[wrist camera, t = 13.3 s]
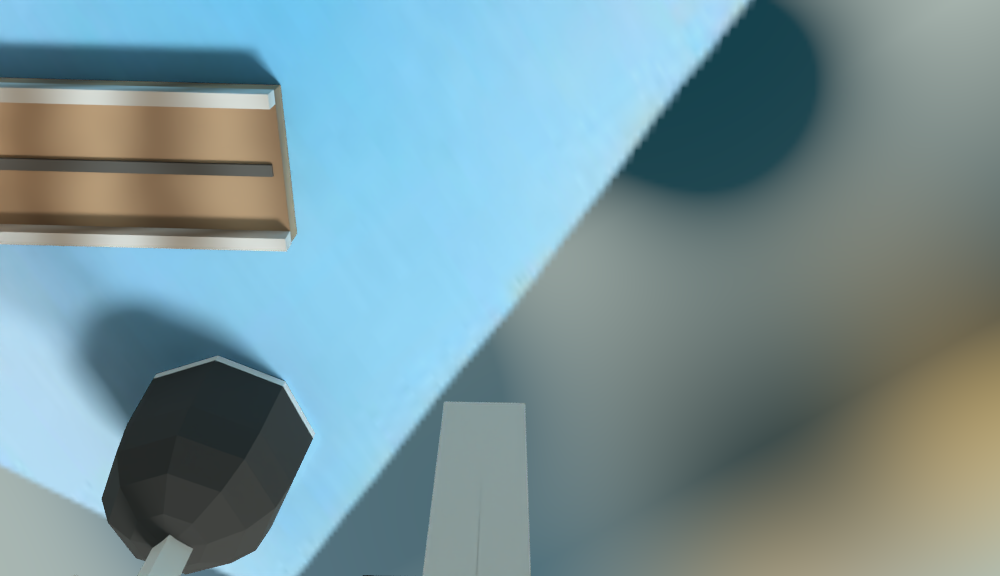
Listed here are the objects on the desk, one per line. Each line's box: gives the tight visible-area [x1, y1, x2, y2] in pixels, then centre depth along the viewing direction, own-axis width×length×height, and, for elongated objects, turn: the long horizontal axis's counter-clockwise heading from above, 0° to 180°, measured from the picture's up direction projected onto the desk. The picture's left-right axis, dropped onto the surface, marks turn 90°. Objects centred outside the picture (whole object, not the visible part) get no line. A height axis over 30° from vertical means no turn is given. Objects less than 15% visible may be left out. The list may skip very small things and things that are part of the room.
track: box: [0, 78, 297, 251], centre depth 36 cm, size 24×9×7 cm, turn 89°
